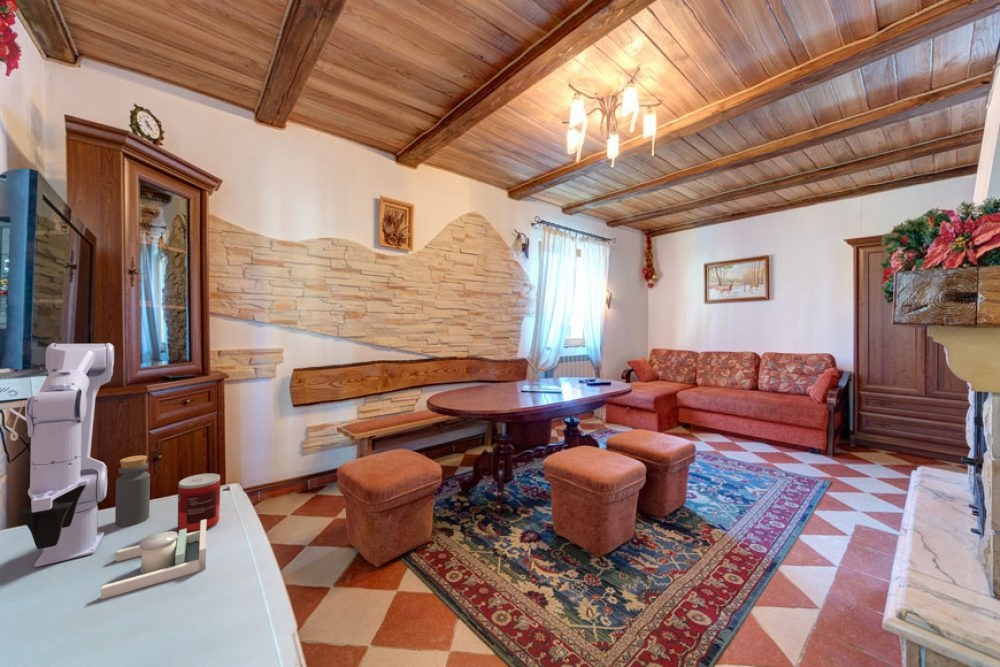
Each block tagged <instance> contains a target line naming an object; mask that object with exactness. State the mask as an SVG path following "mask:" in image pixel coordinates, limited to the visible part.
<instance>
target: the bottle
mask: <svg viewBox="0 0 1000 667" xmlns="http://www.w3.org/2000/svg"><path fill="white" fill-rule="evenodd" d="M147 459H148V455H132V456H127V457H125V458H122V459H120V460H119V463H120V467H118V474H121V476H119V477H118V478H116V480H115V515H114V516H115V520H114V521H115V526H116V527H118V528H121V527H122V528H123V527H124V528H125V527H130V526H131V527H132V526H134V525H138V524H140V523H143V522H145V521H147V520H148V519H149V518H150V508H151V507H150V504H151V503H150V502H151V501H150V500H151V499H150V498H151V497H150V495H151V494H150V493H151V473H149V472H148V471H146V470H147V469H148V468H149V463H148V462H147Z"/></svg>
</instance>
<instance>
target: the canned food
mask: <svg viewBox="0 0 1000 667" xmlns="http://www.w3.org/2000/svg"><path fill="white" fill-rule="evenodd" d="M177 487H178V488H177V529H178V531H179V530H182V529H186V528H187V533H191V532H196V531H200V525H201V520H205V519H206V529H208V528H210V527H212V526H213V525H215V524H216V523H217V522H218V523H219V520H220V514H221V513H220V508H221V507H220V506H221V504H220V503H221V475H220V474H219V473H218V474H217V473H200V474H194V475H191V476H187V477H185V478H183V479H181V480H180V481H179V482H178V485H177ZM218 523H217V524H218ZM217 524H216V525H217ZM216 525H215V526H216ZM213 527H214V526H213ZM213 527H212V528H213ZM210 529H211V528H210ZM208 530H209V529H208Z"/></svg>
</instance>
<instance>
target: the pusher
mask: <svg viewBox="0 0 1000 667" xmlns="http://www.w3.org/2000/svg"><path fill="white" fill-rule="evenodd" d="M177 536H178V542H177V547H176V555H175V563H174V564H175V565H174V566H176V565H179V564H183V563H185V558H186V550H187V549H186V548H187V544H186V538H187V528H186V529H182V530H178V534H177Z"/></svg>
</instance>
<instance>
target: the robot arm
mask: <svg viewBox="0 0 1000 667" xmlns="http://www.w3.org/2000/svg"><path fill="white" fill-rule="evenodd" d="M114 363H115V346H114V345H113V344H112V343H111V342H107V343H56V342H52V343H50V344H49V345H48V346H47V347H46V350H45V368H46V369H47V374H48V376H46V378H45V379H44V381H43V384H42V385H41V387H40V389H39V391H38V392H36V394H35V395H29V396H28V398H27V399H26V403H25V408H24V409H25V411H24V414H25V415H24V416H25V421H26V426H27V437H28V438H30V462H29V463H30V474H29V488H28V490H27V494H28V496H29V498H30V500H31V501H30V504H31V505H30V506H29V507H23V508H22V509H20V510H19V512H18V514H17V515H18V519H19V520H21V521H22V522H23V523H24V524H25V525H26V526H27V528H28V529H29V532H30V533H31V537H32V539H33V542H34V544H35V547H36V549H37V550H42V554H41V555H40V556H39V558H38V559H37V560H36V562H35V563H34V564H33V567H34V568H38V567H42V566H46V565H50V564H54V563H59V562H63V561H67V560H72V559H76V558H80V557H84V556H89V555H93V554H94V553H95V552H96V550H97V548H99V547H98V546H99V544H100V543H101V540H102V538H103V537H104V534H105V532H104V531H101V532H98V530H99V527H98V526H99V507H98V503H99V502H101V503H102V501H103V500H105V498H106V496H107V492H108V491H107V490H108V467H107V465H106V464H105V462H103V461H100V460H98V459H95V458H93V457H91V450H92V440H93V439H92V438H93V428H94V419H95V408H96V406H95V405H96V397H97V394H98V393H99V389H100V387H101V386H102V385H105V384H107V383H109V382H111V378H112V377H113V373H114Z"/></svg>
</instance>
